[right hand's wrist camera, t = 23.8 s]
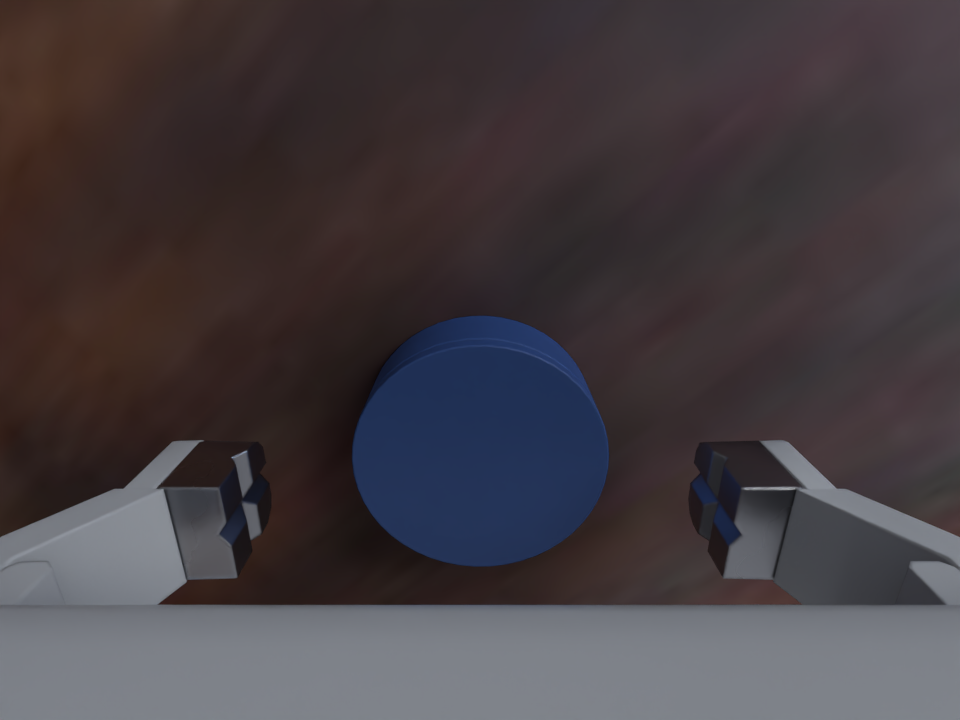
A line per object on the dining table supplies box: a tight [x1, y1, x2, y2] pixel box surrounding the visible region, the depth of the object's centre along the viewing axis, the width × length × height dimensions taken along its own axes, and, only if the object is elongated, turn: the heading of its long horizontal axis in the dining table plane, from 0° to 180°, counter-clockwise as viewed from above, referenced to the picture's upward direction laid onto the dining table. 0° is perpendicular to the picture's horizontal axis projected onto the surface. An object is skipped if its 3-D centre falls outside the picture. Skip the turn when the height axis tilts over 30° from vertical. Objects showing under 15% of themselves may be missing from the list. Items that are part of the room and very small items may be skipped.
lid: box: [352, 316, 609, 567], centre depth 11 cm, size 5×5×2 cm
